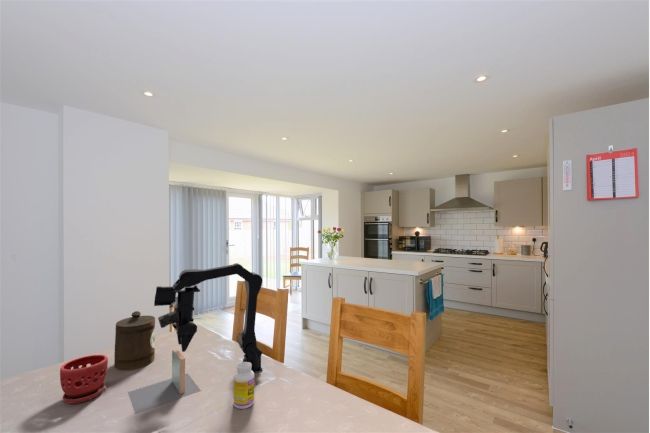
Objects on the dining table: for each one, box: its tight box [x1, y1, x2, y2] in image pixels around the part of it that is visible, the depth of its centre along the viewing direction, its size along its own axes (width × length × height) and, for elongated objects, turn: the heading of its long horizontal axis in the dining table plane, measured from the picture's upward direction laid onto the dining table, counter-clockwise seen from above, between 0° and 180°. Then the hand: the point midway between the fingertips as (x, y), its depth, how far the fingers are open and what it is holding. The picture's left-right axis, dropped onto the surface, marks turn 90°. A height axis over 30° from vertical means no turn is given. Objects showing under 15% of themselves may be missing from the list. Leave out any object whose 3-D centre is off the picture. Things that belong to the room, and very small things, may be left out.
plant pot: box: [59, 354, 109, 404], centre depth 104 cm, size 13×13×12 cm
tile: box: [171, 347, 186, 394], centre depth 109 cm, size 2×11×12 cm, turn 41°
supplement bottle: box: [233, 361, 255, 410], centre depth 100 cm, size 7×7×13 cm
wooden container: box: [113, 310, 156, 371], centre depth 129 cm, size 15×15×22 cm
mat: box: [128, 373, 202, 415], centre depth 106 cm, size 20×16×1 cm
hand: (181, 347), depth 109 cm, fingers open, 9 cm apart
